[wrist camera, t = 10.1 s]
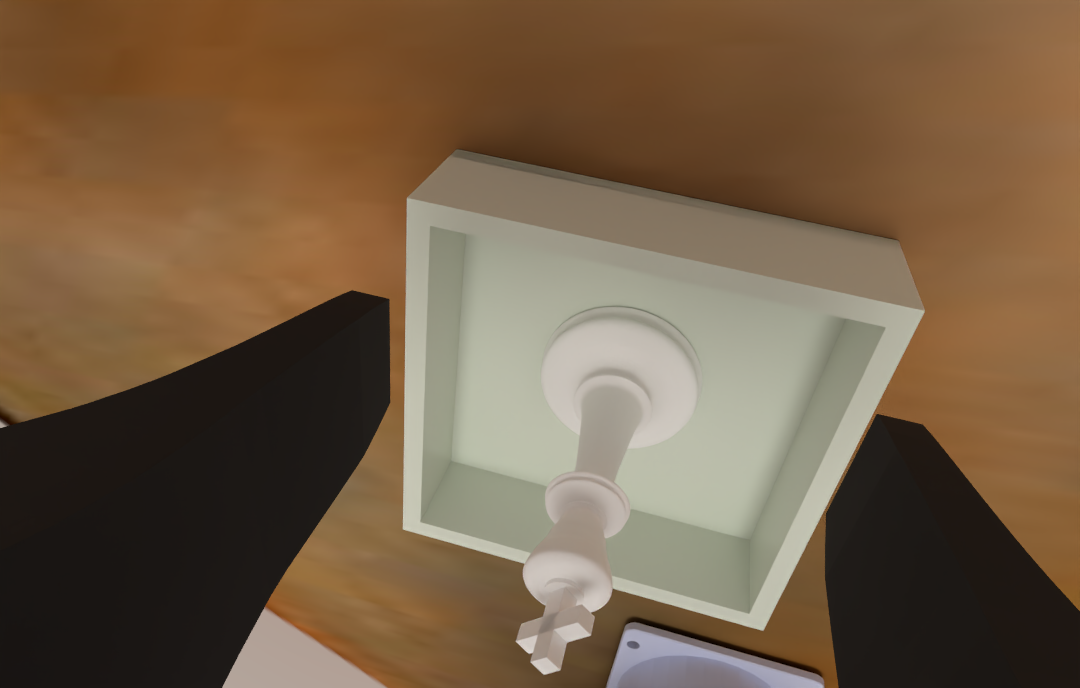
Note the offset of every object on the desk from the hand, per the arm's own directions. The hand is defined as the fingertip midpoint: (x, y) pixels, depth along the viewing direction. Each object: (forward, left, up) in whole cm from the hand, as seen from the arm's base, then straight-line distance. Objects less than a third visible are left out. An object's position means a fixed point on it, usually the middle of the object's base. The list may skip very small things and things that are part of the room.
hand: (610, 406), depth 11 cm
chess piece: (-7, 0, -10) cm, 12 cm away
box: (-7, 0, -10) cm, 12 cm away
